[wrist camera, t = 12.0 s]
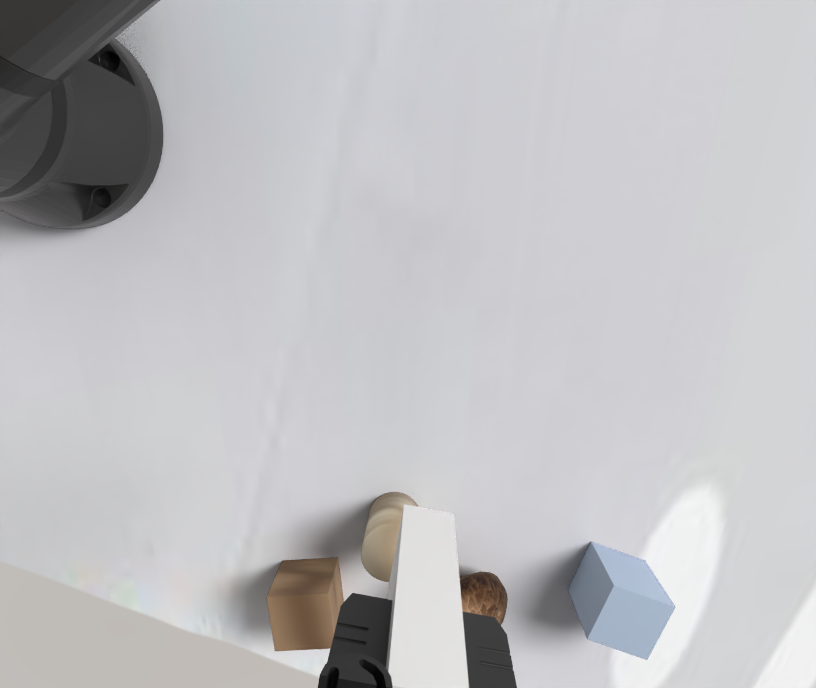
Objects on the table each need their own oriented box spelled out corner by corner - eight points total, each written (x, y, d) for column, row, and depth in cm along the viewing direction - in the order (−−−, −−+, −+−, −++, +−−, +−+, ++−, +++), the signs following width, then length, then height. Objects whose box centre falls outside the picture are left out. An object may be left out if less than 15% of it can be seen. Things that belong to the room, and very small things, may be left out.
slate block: (567, 589, 48) (587, 639, 42) (590, 541, 47) (614, 585, 41) (620, 607, 48) (647, 659, 42) (644, 560, 47) (675, 606, 41)
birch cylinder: (365, 533, 48) (356, 576, 42) (373, 487, 47) (365, 524, 41) (415, 542, 48) (413, 586, 42) (424, 497, 47) (423, 535, 41)
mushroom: (391, 579, 45) (430, 648, 40) (471, 527, 47) (517, 587, 42) (410, 621, 50) (446, 686, 45) (482, 572, 52) (523, 630, 47)
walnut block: (290, 609, 50) (274, 651, 45) (282, 560, 49) (266, 597, 44) (344, 606, 49) (335, 648, 44) (338, 556, 48) (328, 593, 43)
